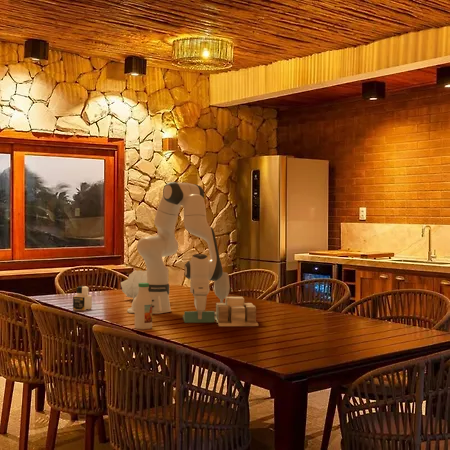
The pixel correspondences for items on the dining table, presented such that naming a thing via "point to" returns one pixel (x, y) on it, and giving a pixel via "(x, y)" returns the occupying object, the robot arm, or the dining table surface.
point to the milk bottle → (143, 308)
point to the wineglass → (222, 287)
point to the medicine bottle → (82, 299)
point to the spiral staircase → (134, 283)
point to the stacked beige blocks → (235, 313)
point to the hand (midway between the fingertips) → (199, 318)
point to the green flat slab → (193, 316)
